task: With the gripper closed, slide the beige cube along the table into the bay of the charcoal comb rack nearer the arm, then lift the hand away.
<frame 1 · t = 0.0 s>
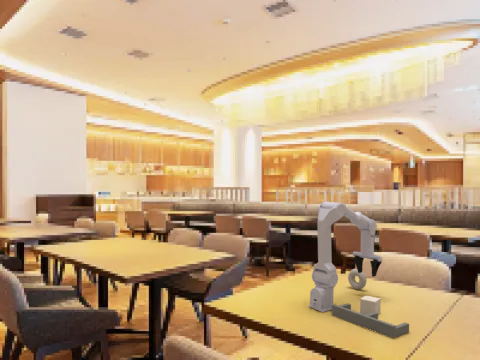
hand: (366, 274, 173), 10 cm above the table, tool pointing down, fingers open, 7 cm apart
comb rack: (360, 316, 147), on the table
beige cube: (370, 314, 150), on the table
donut: (357, 289, 185), on the table
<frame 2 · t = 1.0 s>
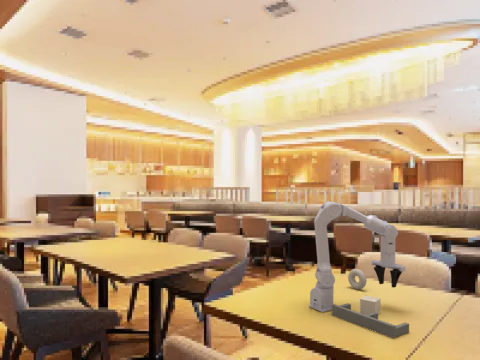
hand: (387, 285, 157), 9 cm above the table, tool pointing down, fingers open, 5 cm apart
nothing on the table moved.
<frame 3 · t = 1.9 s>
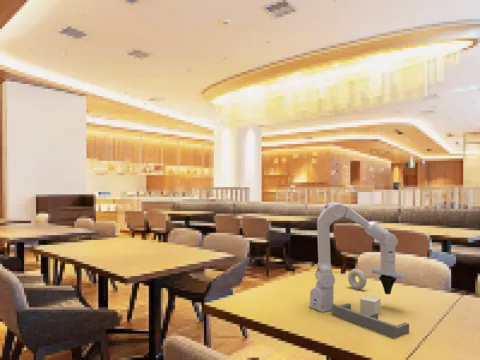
hand: (387, 293, 157), 6 cm above the table, tool pointing down, fingers closed
nothing on the table moved.
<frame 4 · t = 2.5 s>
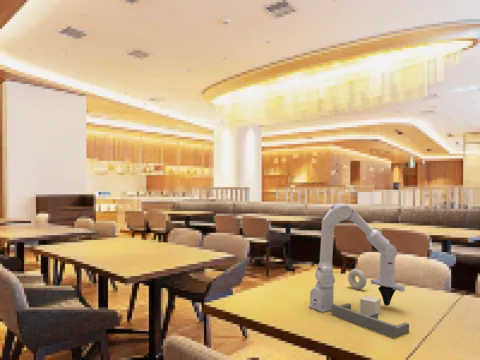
hand: (386, 304, 157), 1 cm above the table, tool pointing down, fingers closed
nothing on the table moved.
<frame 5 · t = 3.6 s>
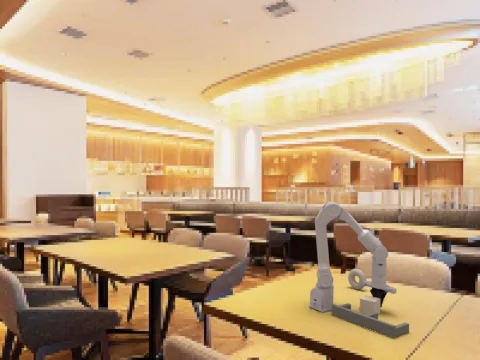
hand: (378, 307, 154), 1 cm above the table, tool pointing down, fingers closed
beige cube: (370, 314, 150), on the table, touching gripper
everything else where it was.
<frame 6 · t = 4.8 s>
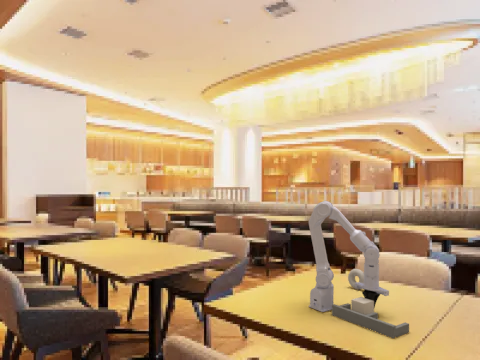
hand: (371, 309, 151), 1 cm above the table, tool pointing down, fingers closed
beige cube: (362, 315, 148), on the table, touching gripper
everything else where it was.
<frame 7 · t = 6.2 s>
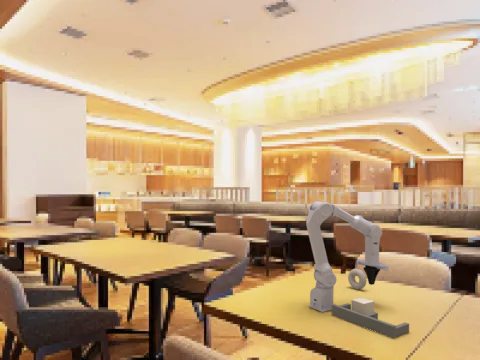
hand: (371, 284, 161), 9 cm above the table, tool pointing down, fingers closed
beige cube: (362, 316, 148), on the table
everything else where it was.
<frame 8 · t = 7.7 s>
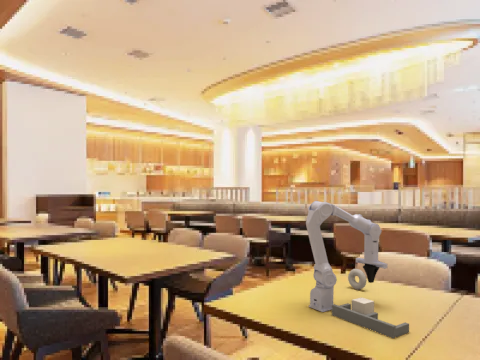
hand: (370, 282, 162), 9 cm above the table, tool pointing down, fingers closed
nothing on the table moved.
at the end: beige cube 0.9 cm off-centre on the comb rack, point 0.0 cm above the comb rack's base; beige cube tilted 0° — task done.
